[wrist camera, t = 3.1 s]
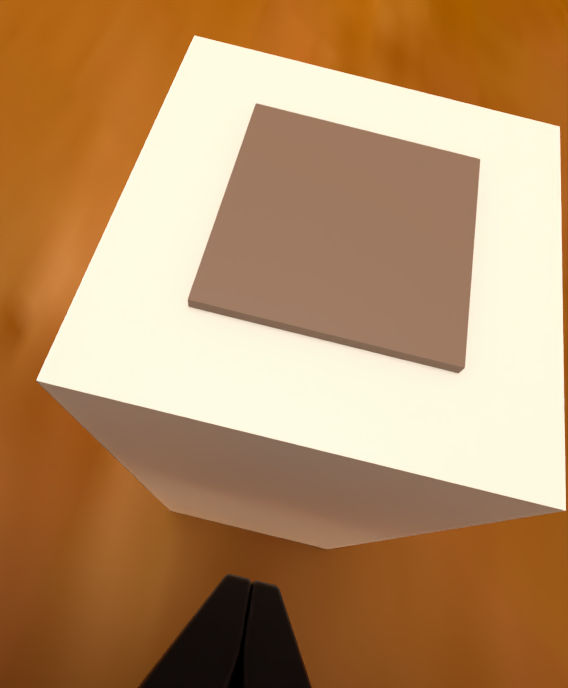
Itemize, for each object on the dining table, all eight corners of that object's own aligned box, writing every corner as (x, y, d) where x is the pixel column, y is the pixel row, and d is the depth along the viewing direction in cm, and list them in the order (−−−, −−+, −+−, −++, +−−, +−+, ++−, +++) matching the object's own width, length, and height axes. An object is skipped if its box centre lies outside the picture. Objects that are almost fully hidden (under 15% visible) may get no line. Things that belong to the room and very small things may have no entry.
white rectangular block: (331, 550, 16) (592, 512, 4) (165, 509, 16) (14, 371, 4) (357, 395, 18) (577, 112, 7) (211, 359, 18) (185, 14, 7)
